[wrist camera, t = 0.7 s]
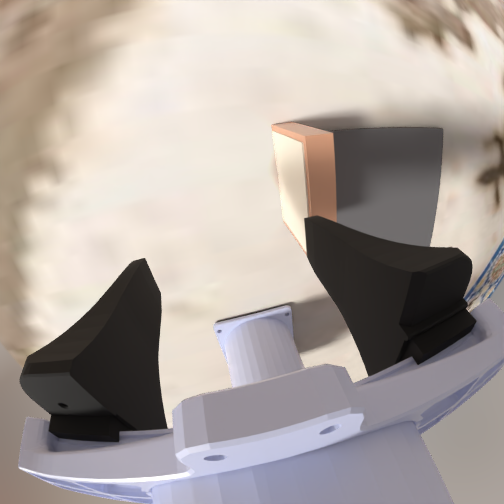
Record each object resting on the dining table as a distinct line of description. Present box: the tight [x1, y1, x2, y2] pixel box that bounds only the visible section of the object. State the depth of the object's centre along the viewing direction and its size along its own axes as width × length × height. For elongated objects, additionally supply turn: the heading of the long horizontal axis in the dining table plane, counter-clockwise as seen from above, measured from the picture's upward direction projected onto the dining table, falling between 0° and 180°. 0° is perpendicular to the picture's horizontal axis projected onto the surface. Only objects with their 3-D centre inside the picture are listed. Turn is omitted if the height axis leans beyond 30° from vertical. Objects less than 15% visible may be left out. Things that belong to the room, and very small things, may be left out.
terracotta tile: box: [271, 122, 337, 255], centre depth 18 cm, size 8×2×6 cm, turn 9°
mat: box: [328, 127, 443, 247], centre depth 23 cm, size 14×14×1 cm
